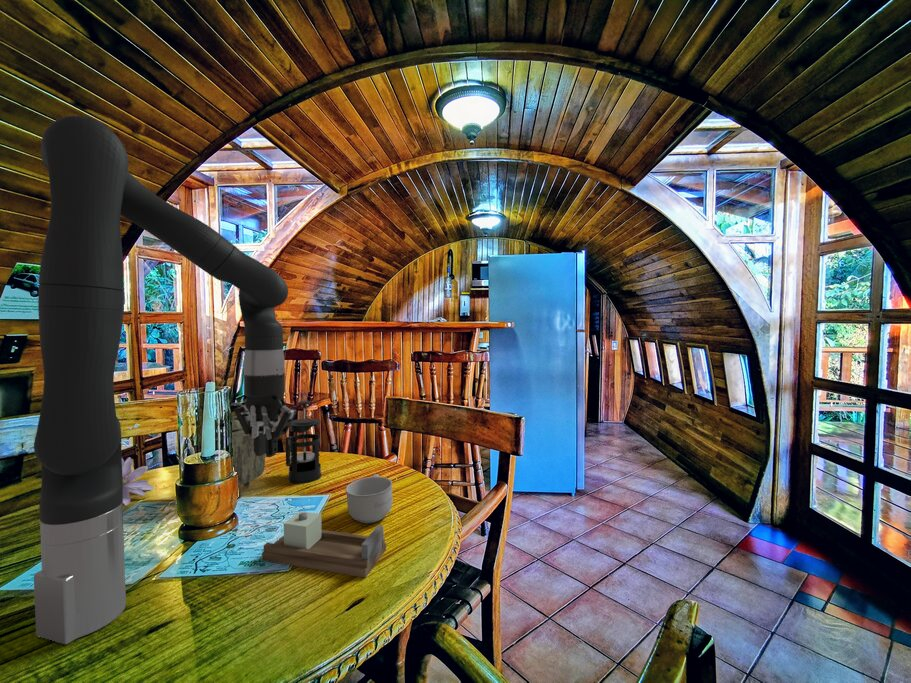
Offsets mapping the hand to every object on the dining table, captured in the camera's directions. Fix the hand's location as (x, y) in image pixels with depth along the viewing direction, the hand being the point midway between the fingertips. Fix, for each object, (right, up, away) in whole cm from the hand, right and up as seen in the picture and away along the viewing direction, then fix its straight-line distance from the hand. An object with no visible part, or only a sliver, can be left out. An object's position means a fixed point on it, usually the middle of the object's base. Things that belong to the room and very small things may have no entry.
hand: (265, 455), depth 80 cm
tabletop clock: (-20, -18, +24) cm, 36 cm away
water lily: (-47, -18, +23) cm, 55 cm away
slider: (+8, -17, -1) cm, 19 cm away
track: (+13, -19, -2) cm, 23 cm away
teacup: (+19, -19, +15) cm, 30 cm away
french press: (-7, -18, +37) cm, 42 cm away
